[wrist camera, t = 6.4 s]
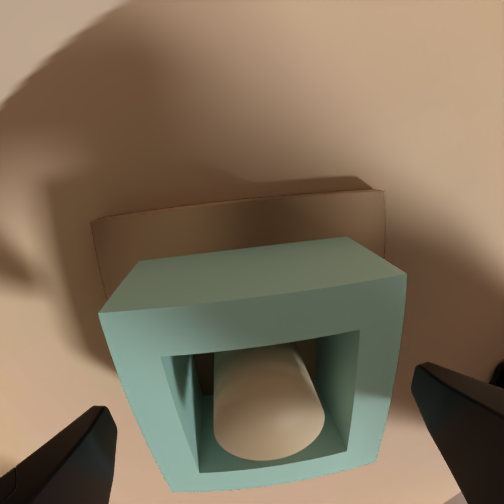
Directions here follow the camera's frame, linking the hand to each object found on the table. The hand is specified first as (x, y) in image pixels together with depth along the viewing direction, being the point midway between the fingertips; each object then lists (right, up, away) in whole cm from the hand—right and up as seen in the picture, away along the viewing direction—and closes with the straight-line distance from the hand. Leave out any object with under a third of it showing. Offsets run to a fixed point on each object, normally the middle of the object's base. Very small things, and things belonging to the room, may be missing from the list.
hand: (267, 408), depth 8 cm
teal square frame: (0, +1, +3) cm, 4 cm away
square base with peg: (0, +1, +4) cm, 4 cm away
